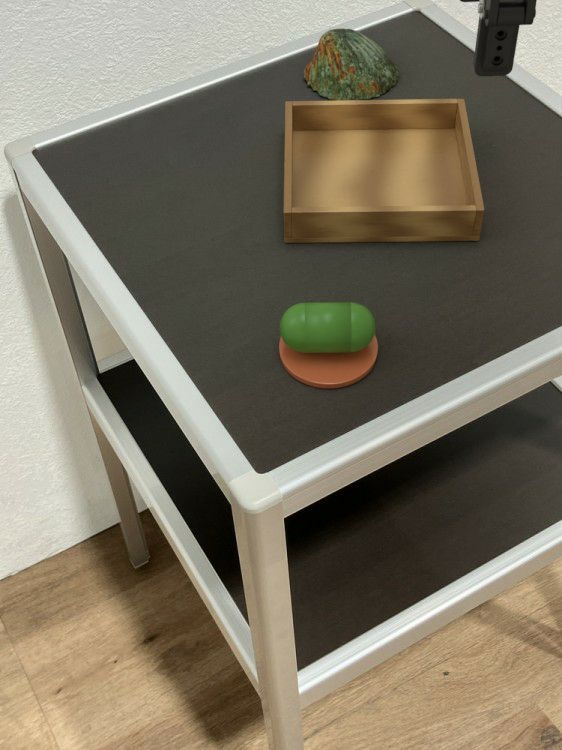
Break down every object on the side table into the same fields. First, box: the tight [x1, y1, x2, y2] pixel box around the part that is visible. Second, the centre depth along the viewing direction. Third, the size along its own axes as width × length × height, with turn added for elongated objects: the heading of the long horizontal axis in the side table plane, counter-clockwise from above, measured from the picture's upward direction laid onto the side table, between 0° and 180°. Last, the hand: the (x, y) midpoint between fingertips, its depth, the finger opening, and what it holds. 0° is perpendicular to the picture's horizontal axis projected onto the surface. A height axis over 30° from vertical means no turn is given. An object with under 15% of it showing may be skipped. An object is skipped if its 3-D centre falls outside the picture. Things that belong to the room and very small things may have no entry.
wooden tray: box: [283, 98, 485, 244], centre depth 90 cm, size 17×16×4 cm
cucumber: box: [279, 301, 377, 353], centre depth 77 cm, size 8×4×4 cm, turn 89°
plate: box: [278, 334, 379, 390], centre depth 78 cm, size 8×8×1 cm
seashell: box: [303, 28, 400, 101], centre depth 102 cm, size 10×4×10 cm
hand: (482, 34), depth 60 cm, fingers open, 8 cm apart
